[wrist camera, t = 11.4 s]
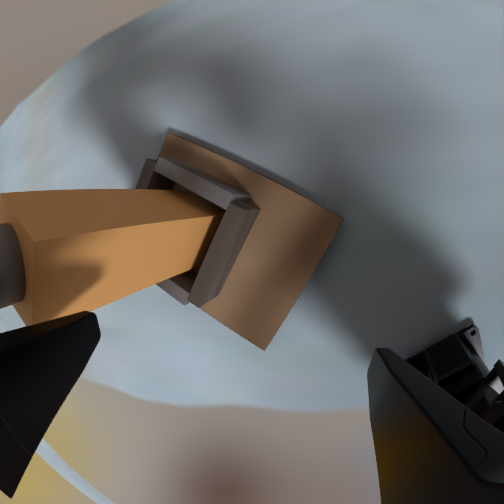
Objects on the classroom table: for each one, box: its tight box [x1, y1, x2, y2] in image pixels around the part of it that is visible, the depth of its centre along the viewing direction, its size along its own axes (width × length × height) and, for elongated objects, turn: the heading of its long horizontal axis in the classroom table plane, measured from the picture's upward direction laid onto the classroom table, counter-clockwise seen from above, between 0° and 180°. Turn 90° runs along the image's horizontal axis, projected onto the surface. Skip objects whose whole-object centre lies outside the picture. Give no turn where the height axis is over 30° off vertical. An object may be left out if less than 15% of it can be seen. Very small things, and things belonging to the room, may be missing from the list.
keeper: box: [136, 133, 344, 351], centre depth 19 cm, size 14×11×4 cm
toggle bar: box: [0, 189, 225, 326], centre depth 13 cm, size 4×4×16 cm
